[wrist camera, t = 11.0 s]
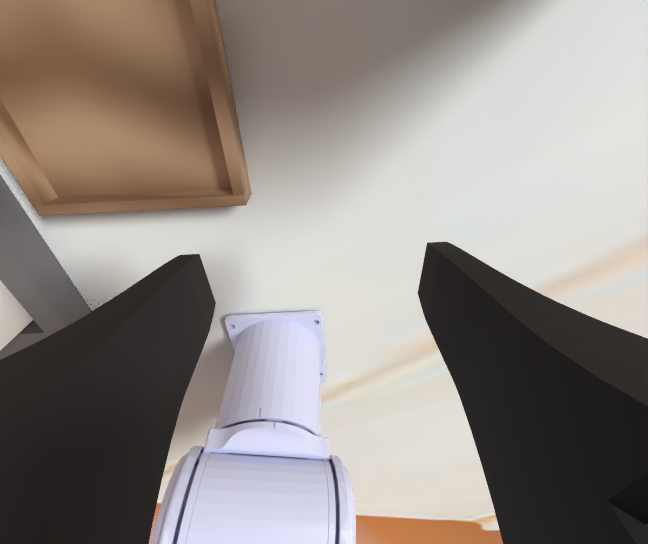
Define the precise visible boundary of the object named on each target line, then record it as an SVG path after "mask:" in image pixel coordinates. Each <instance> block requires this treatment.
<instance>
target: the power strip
mask: <svg viewBox="0 0 648 544" xmlns="http://www.w3.org/2000/svg"><path fill="white" fill-rule="evenodd" d="M0 280H1V282H2V283H3V284H4V285H5V286H6V287H7V289H8V290H9V291H10V292H11V293H12V295H13V296H14V297H15V298H16V299H17V301H18V302H19V303H20V304H21V305H22V307H23V308H24V309H25V310H26V311H27V312H28V314H29V315H30V316H31V317H32V318H33V320H32V321H31V322H30V323H29V324H28V325H27V326H26V327H25V328H24V329H23V330H22V331H21V332H20V333H19V334H17V335H16V336H15V337H14V338H13V339H12V340H11V341H10V342H9V343H8V344H7V345H6V346H5V347H4V348H3V349H1V350H0V360H1V359H3V358H5V357H7V356H9V355H11V354H13V353H16V352H18V351H20V350H22V349H24V348H26V347H28V346H30V345H32V344H34V343H36V342H38V341H40V340H42V339H44V338H46V337H48V336H50V335H51V334H53V333H55V332H57V331H59V330H61V329H63V328H65V327H66V326H68V325H70V324H72V323H73V322H75V321H77V320H79V319H80V318H82V317H84V316H86V315H87V314H89V313H90V312H92V311H91V310H90V308H89V307H88V305H87V304H86V302H85V301H84V299H83V298H82V296H81V295H80V293H79V292H78V291H77V289H76V288H75V286H74V285H73V283H72V282H71V280H70V279H69V277H68V276H67V274H66V273H65V271H64V270H63V268H62V267H61V265H60V264H59V262H58V261H57V259H56V258H55V256H54V255H53V253H52V252H51V250H50V249H49V247H48V246H47V244H46V243H45V241H44V240H43V238H42V237H41V235H40V234H39V232H38V231H37V229H36V228H35V226H34V225H33V223H32V222H31V220H30V219H29V217H28V216H27V214H26V213H25V211H24V210H23V208H22V207H21V205H20V204H19V202H18V201H17V199H16V198H15V196H14V195H13V193H12V192H11V190H10V189H9V187H8V186H7V184H6V183H5V181H4V180H3V178H2V177H1V175H0Z"/></svg>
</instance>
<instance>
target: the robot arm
mask: <svg viewBox="0 0 648 544" xmlns="http://www.w3.org/2000/svg"><path fill="white" fill-rule="evenodd" d="M418 295H419V299H420V302H421V306H422V309H423V313H424V316H425V319H426V321H427V324H428V326H429V328H430V330H431V333H432V335H433V337H434V339H435V341H436V344H437V346H438V348H439V350H440V352H441V354H442V357H443V359H444V361H445V363H446V365H447V367H448V370H449V372H450V374H451V376H452V378H453V381H454V383H455V385H456V388H457V390H458V393H459V395H460V398H461V401H462V404H463V407H464V410H465V413H466V416H467V419H468V422H469V425H470V428H471V431H472V434H473V438H474V441H475V444H476V447H477V450H478V454H479V457H480V460H481V463H482V467H483V470H484V474H485V477H486V481H487V484H488V488H489V491H490V495H491V498H492V502H493V505H494V509H495V513H496V517H497V521H498V525H499V529H500V532H501V536H502V540H503V544H648V339H647V338H644V337H642V336H639V335H636V334H634V333H631V332H628V331H626V330H623V329H620V328H618V327H615V326H612V325H610V324H607V323H605V322H602V321H600V320H597V319H595V318H592V317H590V316H587V315H585V314H583V313H581V312H578V311H576V310H574V309H572V308H569V307H567V306H565V305H563V304H560V303H558V302H556V301H554V300H552V299H550V298H548V297H545V296H543V295H541V294H540V293H538V292H536V291H534V290H532V289H530V288H528V287H526V286H524V285H522V284H520V283H518V282H517V281H515V280H513V279H511V278H509V277H508V276H506V275H504V274H502V273H501V272H499V271H497V270H495V269H494V268H492V267H490V266H489V265H487V264H485V263H483V262H482V261H480V260H478V259H477V258H475V257H473V256H472V255H470V254H468V253H467V252H465V251H463V250H461V249H460V248H458V247H456V246H454V245H452V244H450V243H448V242H433V243H427V247H426V252H425V258H424V263H423V268H422V274H421V279H420V284H419V290H418ZM215 304H216V303H215V300H214V297H213V294H212V291H211V288H210V285H209V282H208V279H207V276H206V273H205V270H204V267H203V264H202V261H201V258H200V255H199V254H192V255H179V256H177V257H176V258H174V259H172V260H170V261H169V262H167V263H166V264H164V265H162V266H161V267H159V268H158V269H156V270H155V271H153V272H152V273H151V274H149V275H148V276H146V277H145V278H143V279H142V280H140V281H139V282H137V283H136V284H134V285H133V286H131V287H130V288H128V289H127V290H125V291H124V292H122V293H121V294H119V295H118V296H116V297H114V298H113V299H111V300H110V301H108V302H106V303H105V304H103V305H102V306H100V307H98V308H97V309H95V310H94V311H92V312H90V313H89V314H87V315H86V316H84V317H82V318H80V319H79V320H77V321H75V322H73V323H72V324H70V325H68V326H66V327H65V328H63V329H61V330H59V331H57V332H55V333H53V334H51V335H50V336H48V337H46V338H44V339H42V340H40V341H38V342H36V343H34V344H32V345H30V346H28V347H26V348H24V349H22V350H20V351H18V352H16V353H13V354H11V355H9V356H7V357H5V358H3V359H1V360H0V544H148V543H149V538H150V533H151V528H152V522H153V518H154V513H155V508H156V504H157V499H158V494H159V490H160V485H161V480H162V476H163V472H164V468H165V464H166V460H167V456H168V452H169V448H170V444H171V440H172V436H173V432H174V429H175V425H176V421H177V418H178V414H179V410H180V407H181V404H182V401H183V398H184V395H185V393H186V390H187V387H188V385H189V382H190V380H191V377H192V375H193V372H194V370H195V367H196V364H197V362H198V359H199V357H200V354H201V352H202V349H203V346H204V344H205V341H206V339H207V336H208V333H209V330H210V326H211V322H212V318H213V313H214V309H215ZM315 320H318V321H315ZM224 322H225V326H226V329H227V332H228V335H229V338H230V341H231V344H232V347H233V350H234V357H233V361H232V365H231V368H230V372H229V376H228V380H227V384H226V387H225V391H224V395H223V399H222V402H221V406H220V410H219V414H218V418H217V421H216V425H215V429H210V430H209V432H208V436H207V440H206V443H205V447H202V446H194V447H193V448H191V449H190V451H189V452H188V453H187V454H185V455H184V456H183V457H182V458H181V459H180V460H179V462H178V463H177V465H176V467H175V469H174V472H173V474H172V476H171V479H170V481H169V484H168V487H167V489H166V492H165V495H164V498H163V501H162V504H161V508H160V511H159V515H158V518H157V522H156V525H155V529H154V533H153V537H152V541H151V544H355V540H356V517H355V516H356V515H355V502H354V494H353V488H352V483H351V479H350V476H349V473H348V471H347V469H346V468H345V466H344V465H343V463H342V461H341V459H340V458H339V457H338V456H334V455H329V439H328V438H325V437H321V399H320V383H324V382H325V381H326V375H325V358H324V341H323V324H322V313H321V312H319V311H301V312H281V313H262V314H242V315H228V316H226V318H225V320H224ZM232 325H234V326H232Z"/></svg>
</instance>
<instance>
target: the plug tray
mask: <svg viewBox="0 0 648 544" xmlns="http://www.w3.org/2000/svg"><path fill="white" fill-rule="evenodd" d="M0 156H1V157H2V159H3V160H4V162H5V163H6V165H7V167H8V168H9V170H10V171H11V173H12V174H13V176H14V177H15V179H16V180H17V182H18V184H19V185H20V187H21V188H22V190H23V191H24V193H25V194H26V196H27V198H28V199H29V201H30V202H31V204H32V205H33V207H34V208H35V210H36V212H37V213H38V215H58V214H79V213H99V212H119V211H139V210H159V209H180V208H200V207H220V206H240V205H246V204H247V202H248V200H249V198H250V196H251V190H250V184H249V179H248V174H247V168H246V163H245V158H244V152H243V147H242V142H241V136H240V131H239V125H238V120H237V115H236V109H235V104H234V99H233V93H232V88H231V83H230V77H229V72H228V67H227V61H226V56H225V51H224V45H223V40H222V35H221V29H220V24H219V19H218V13H217V8H216V3H215V0H0Z"/></svg>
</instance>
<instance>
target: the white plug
mask: <svg viewBox="0 0 648 544" xmlns="http://www.w3.org/2000/svg"><path fill="white" fill-rule="evenodd" d="M32 320H33V318H32V317H31V316H30V315H29V314H28V312H27V311H26V310H25V309H24V308H23V307H22V305H21V304H20V303H19V302H18V301H17V299H16V298H15V297H14V296H13V295H12V293H11V292H10V291H9V290H8V289H7V287H6V286H5V285H4V284H3V283H2V282H1V280H0V350H1V349H3V348H4V347H5V346H6V345H7V344H8V343H9V342H10V341H11V340H12V339H13V338H14V337H15V336H16V335H17V334H19V333H20V332H21V331H22V330H23V329H24V328H25V327H26V326H27V325H28V324H29V323H30V322H31V321H32Z"/></svg>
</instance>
